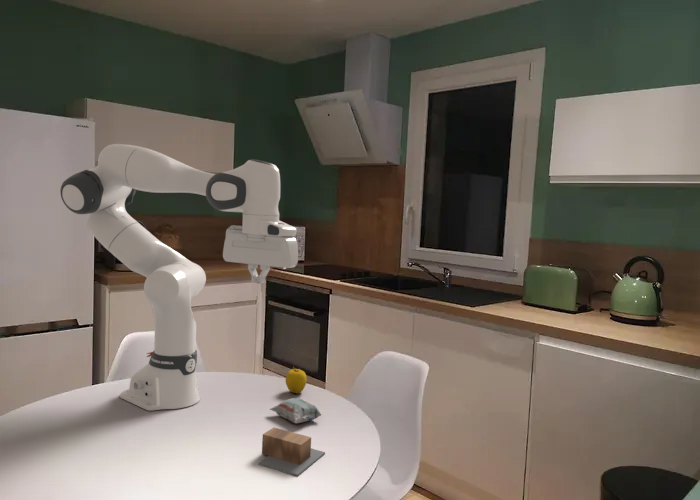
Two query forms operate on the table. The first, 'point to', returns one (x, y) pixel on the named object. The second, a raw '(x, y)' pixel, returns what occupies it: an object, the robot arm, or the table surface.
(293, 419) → the packaged food
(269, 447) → the pillar
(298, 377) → the apple
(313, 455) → the mat
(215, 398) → the table surface
